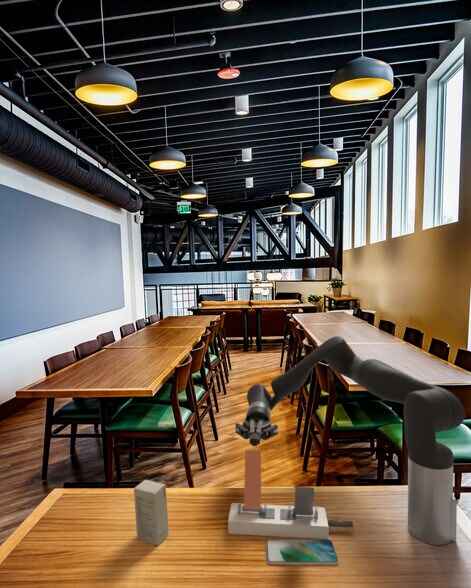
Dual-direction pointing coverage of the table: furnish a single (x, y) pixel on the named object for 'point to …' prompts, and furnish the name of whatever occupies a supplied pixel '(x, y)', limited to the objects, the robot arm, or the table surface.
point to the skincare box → (151, 511)
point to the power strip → (282, 522)
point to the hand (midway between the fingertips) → (254, 442)
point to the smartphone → (301, 552)
